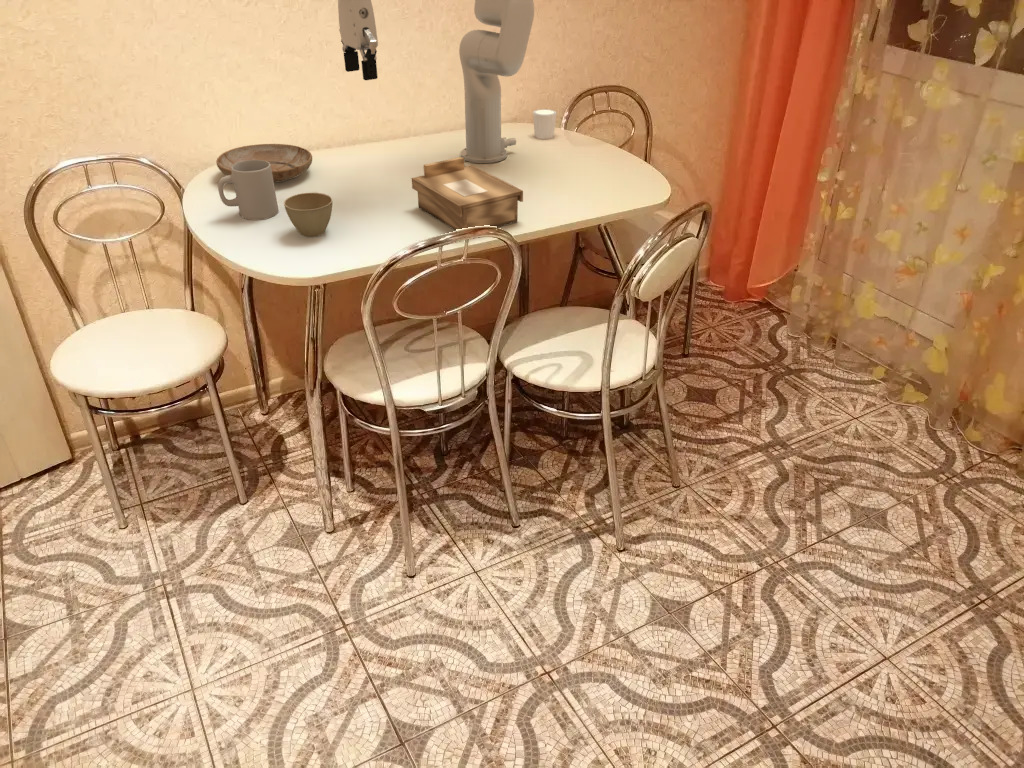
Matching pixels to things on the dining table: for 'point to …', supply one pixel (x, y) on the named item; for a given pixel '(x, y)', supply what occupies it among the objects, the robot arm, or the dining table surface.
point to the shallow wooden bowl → (269, 159)
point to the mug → (251, 189)
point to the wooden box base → (474, 213)
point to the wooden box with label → (461, 185)
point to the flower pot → (309, 212)
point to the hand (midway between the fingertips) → (361, 75)
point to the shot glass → (544, 123)
